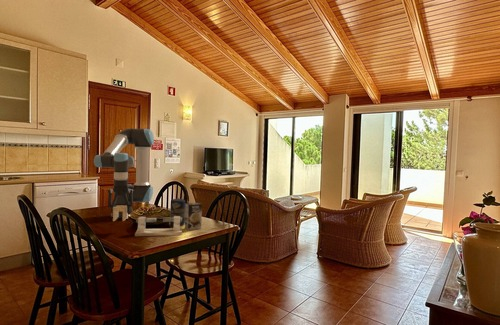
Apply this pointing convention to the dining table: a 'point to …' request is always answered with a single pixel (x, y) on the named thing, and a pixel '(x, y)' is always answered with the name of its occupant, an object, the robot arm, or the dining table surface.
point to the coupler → (119, 209)
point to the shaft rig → (157, 232)
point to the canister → (177, 209)
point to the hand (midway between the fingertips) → (120, 218)
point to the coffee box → (193, 216)
